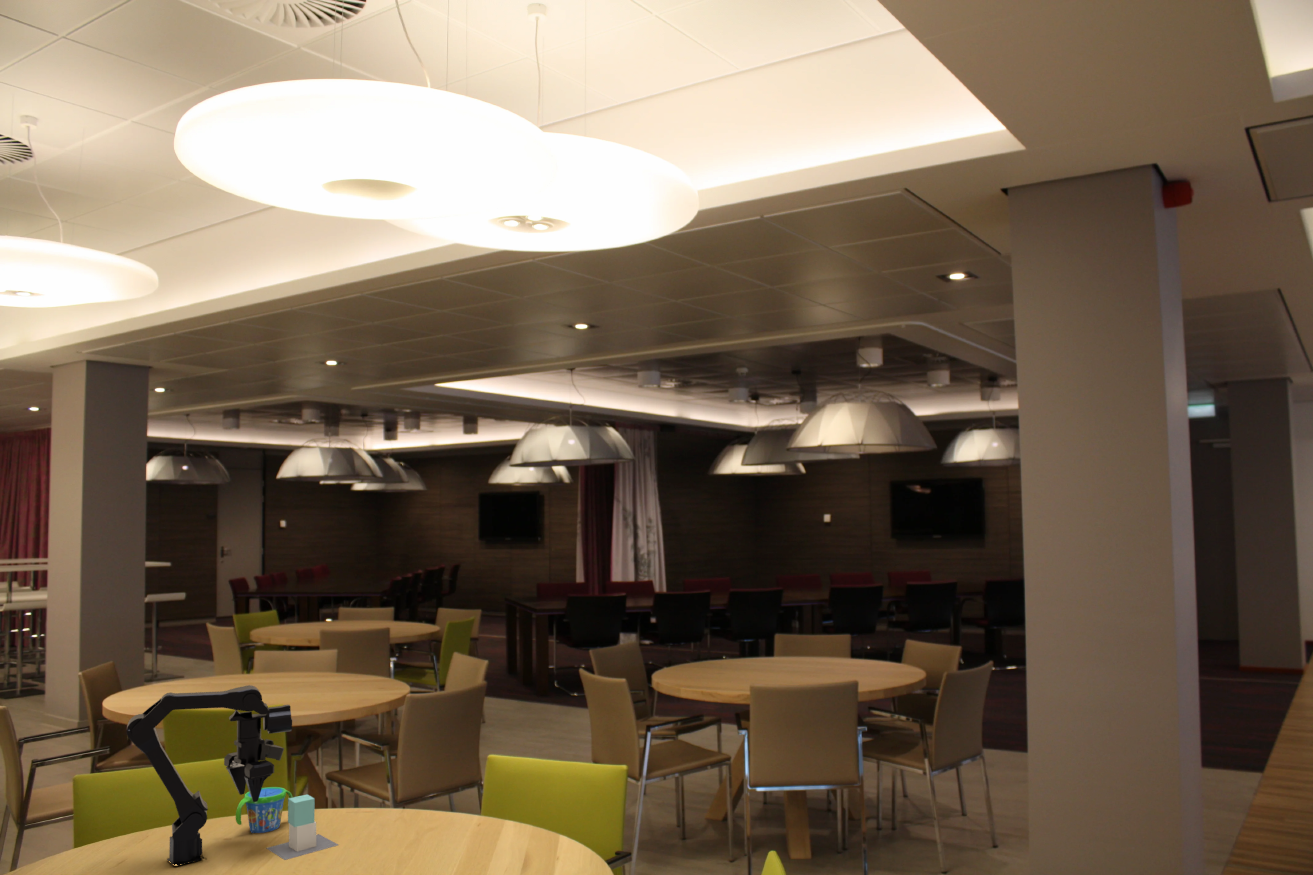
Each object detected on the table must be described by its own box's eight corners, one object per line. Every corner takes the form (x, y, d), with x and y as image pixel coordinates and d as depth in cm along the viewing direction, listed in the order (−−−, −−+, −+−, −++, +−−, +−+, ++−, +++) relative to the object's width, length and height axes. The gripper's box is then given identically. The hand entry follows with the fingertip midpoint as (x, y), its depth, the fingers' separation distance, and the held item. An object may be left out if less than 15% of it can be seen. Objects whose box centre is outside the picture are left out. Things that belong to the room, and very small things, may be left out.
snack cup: (285, 818, 266) (285, 781, 266) (301, 827, 258) (301, 789, 259) (228, 832, 255) (228, 794, 255) (242, 842, 247) (243, 802, 248)
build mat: (284, 862, 232) (284, 859, 232) (265, 850, 241) (265, 847, 241) (339, 847, 242) (339, 844, 242) (318, 836, 250) (318, 833, 250)
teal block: (294, 826, 238) (294, 802, 239) (287, 822, 242) (288, 798, 242) (314, 822, 241) (314, 798, 242) (307, 817, 245) (307, 794, 246)
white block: (297, 851, 238) (297, 826, 238) (288, 846, 241) (289, 822, 242) (316, 846, 241) (316, 822, 242) (307, 841, 245) (308, 817, 245)
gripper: (294, 735, 242) (294, 797, 241) (266, 725, 256) (265, 783, 255) (250, 744, 235) (250, 808, 234) (223, 732, 248) (223, 793, 247)
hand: (248, 797), depth 242 cm, fingers open, 9 cm apart
